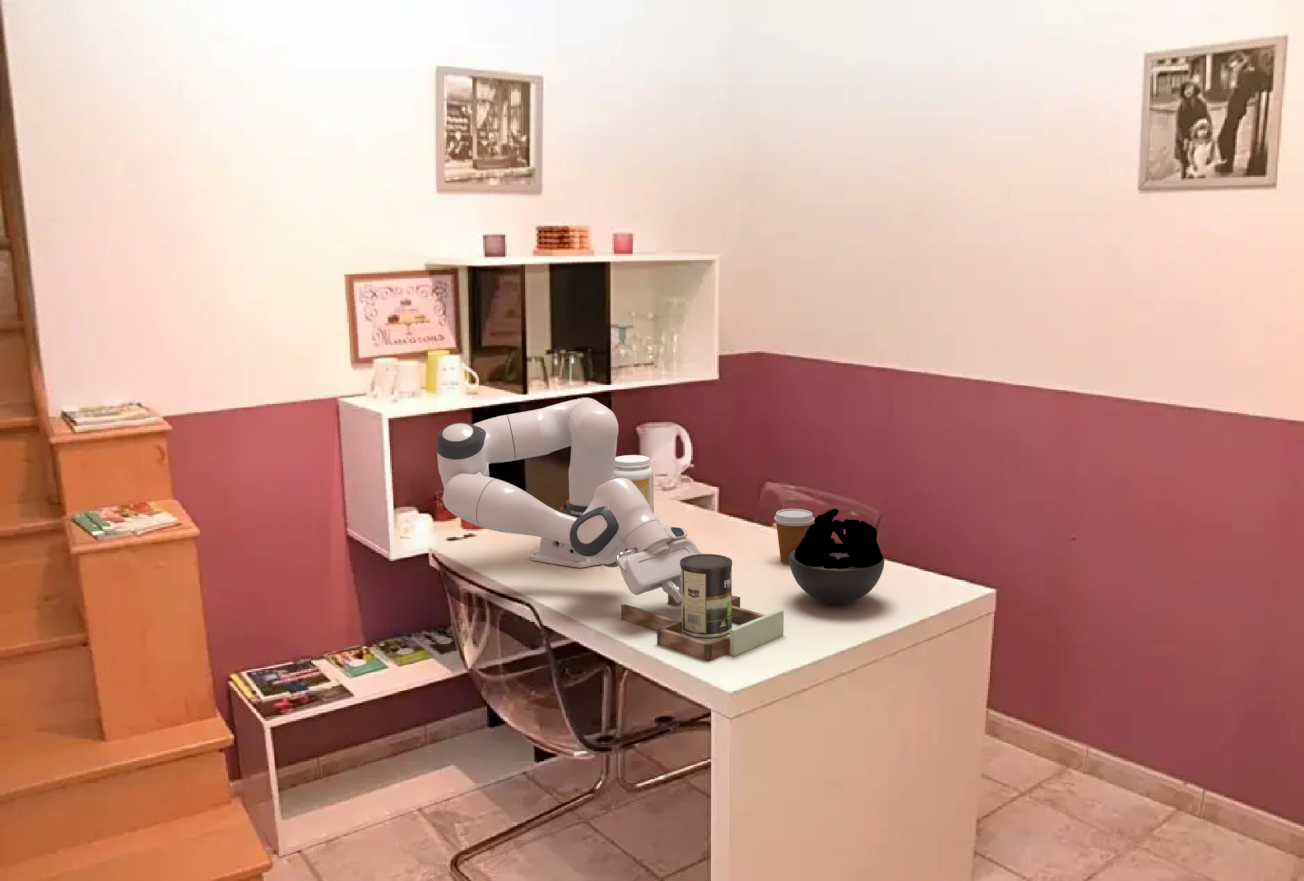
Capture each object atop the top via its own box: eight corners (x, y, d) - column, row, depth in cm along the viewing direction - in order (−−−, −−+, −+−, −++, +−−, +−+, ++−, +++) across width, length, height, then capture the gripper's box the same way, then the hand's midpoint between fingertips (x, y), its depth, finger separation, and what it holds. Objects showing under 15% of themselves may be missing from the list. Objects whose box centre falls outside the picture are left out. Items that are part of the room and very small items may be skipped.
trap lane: (603, 625, 212) (603, 611, 212) (686, 595, 230) (686, 582, 229) (712, 662, 192) (712, 647, 192) (794, 627, 210) (794, 612, 209)
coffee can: (733, 620, 214) (733, 553, 211) (730, 639, 204) (730, 569, 201) (683, 619, 215) (682, 552, 213) (677, 637, 205) (677, 567, 203)
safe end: (730, 655, 196) (730, 629, 195) (779, 633, 206) (779, 609, 206) (734, 656, 195) (734, 630, 194) (783, 634, 206) (783, 610, 205)
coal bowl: (866, 623, 211) (868, 532, 208) (773, 608, 221) (774, 521, 218) (895, 595, 229) (897, 510, 225) (808, 582, 238) (809, 501, 235)
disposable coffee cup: (793, 569, 248) (793, 520, 246) (765, 560, 255) (766, 512, 253) (822, 562, 253) (822, 513, 251) (794, 553, 261) (794, 506, 259)
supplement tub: (622, 510, 307) (620, 452, 304) (660, 513, 303) (659, 455, 300) (604, 520, 296) (602, 460, 293) (643, 523, 291) (642, 463, 288)
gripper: (620, 545, 208) (656, 604, 203) (690, 526, 222) (725, 580, 217) (605, 563, 212) (639, 621, 207) (674, 543, 226) (708, 596, 221)
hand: (684, 600), depth 212 cm, fingers closed, pressing on coffee can
